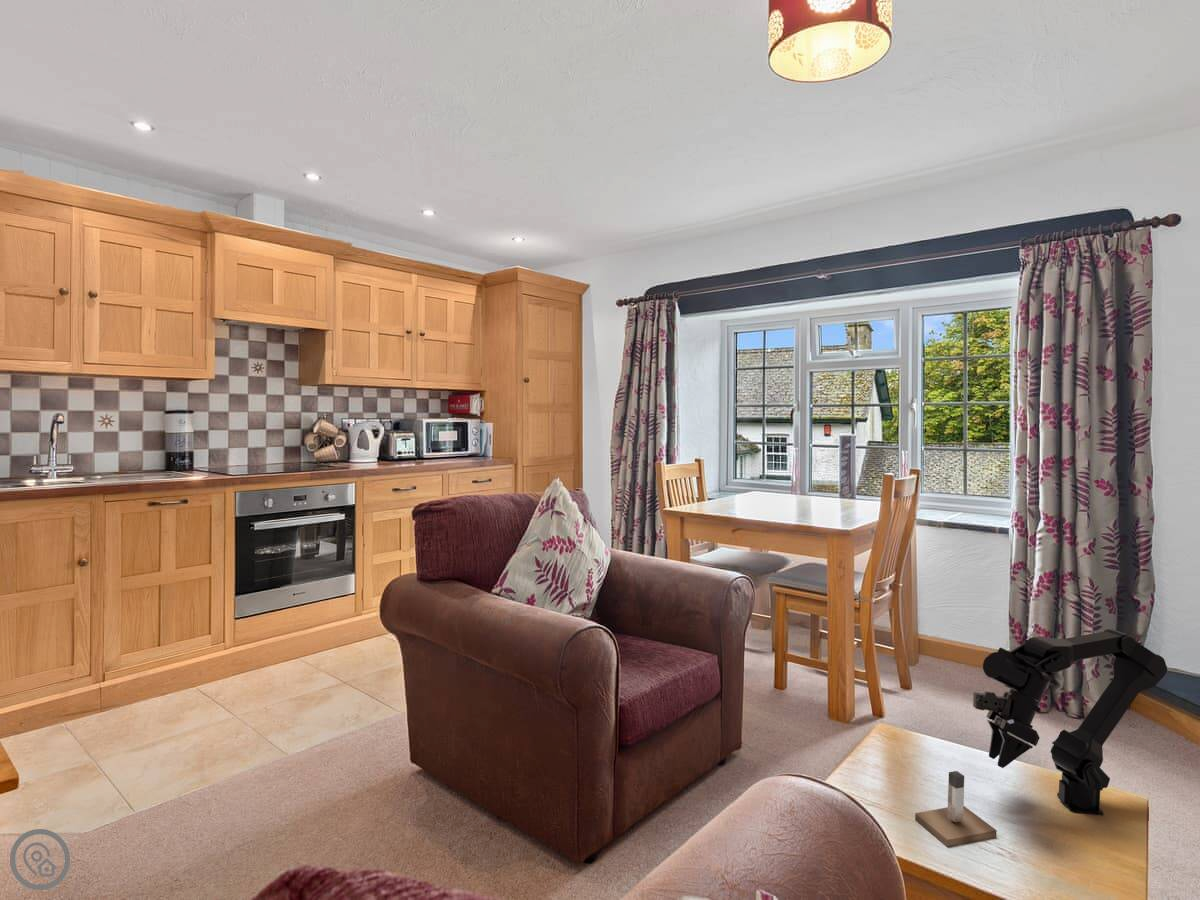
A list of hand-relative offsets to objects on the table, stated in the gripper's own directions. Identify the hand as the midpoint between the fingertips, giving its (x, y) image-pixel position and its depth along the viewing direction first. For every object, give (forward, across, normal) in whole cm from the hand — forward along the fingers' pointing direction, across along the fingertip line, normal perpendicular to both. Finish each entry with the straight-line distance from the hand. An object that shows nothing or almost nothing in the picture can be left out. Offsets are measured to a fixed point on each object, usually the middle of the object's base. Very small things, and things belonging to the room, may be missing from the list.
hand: (995, 762), depth 141 cm
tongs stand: (+16, +4, -3) cm, 16 cm away
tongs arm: (+14, +4, -3) cm, 15 cm away
